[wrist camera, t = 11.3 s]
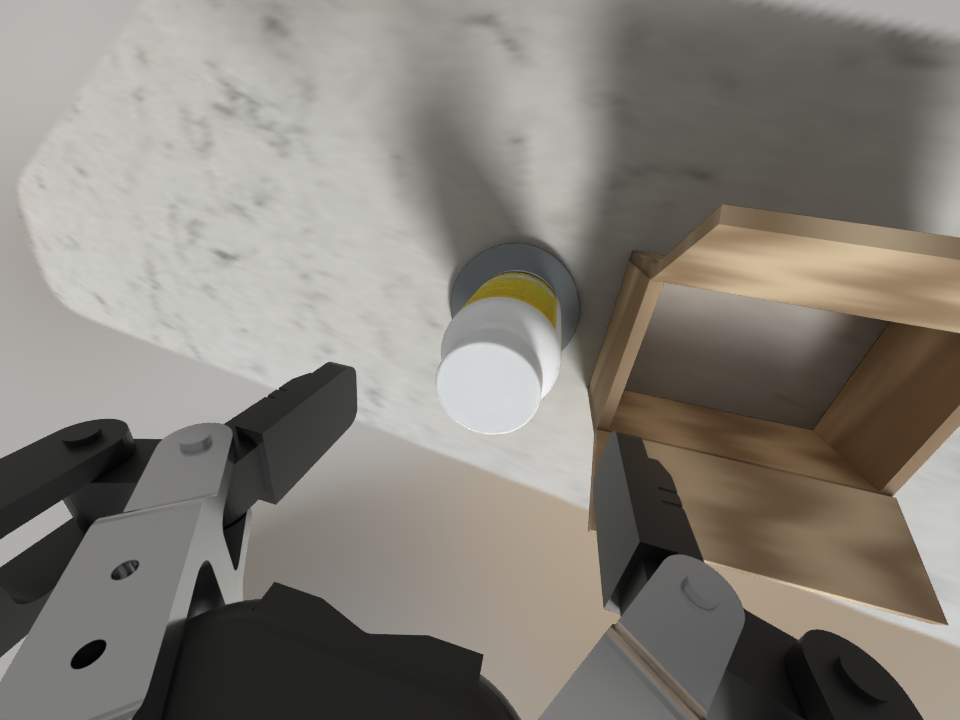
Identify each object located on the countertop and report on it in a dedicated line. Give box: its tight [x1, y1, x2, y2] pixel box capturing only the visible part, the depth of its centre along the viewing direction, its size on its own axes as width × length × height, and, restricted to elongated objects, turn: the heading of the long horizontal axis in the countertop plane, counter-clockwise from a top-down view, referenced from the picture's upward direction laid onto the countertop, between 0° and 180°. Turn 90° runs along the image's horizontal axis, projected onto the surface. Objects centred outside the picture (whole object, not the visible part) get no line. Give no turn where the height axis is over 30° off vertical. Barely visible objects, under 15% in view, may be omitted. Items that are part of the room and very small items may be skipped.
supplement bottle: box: [436, 270, 562, 434], centre depth 17 cm, size 5×5×10 cm
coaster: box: [451, 243, 579, 350], centre depth 22 cm, size 8×8×1 cm
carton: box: [588, 204, 960, 625], centre depth 16 cm, size 14×14×10 cm
